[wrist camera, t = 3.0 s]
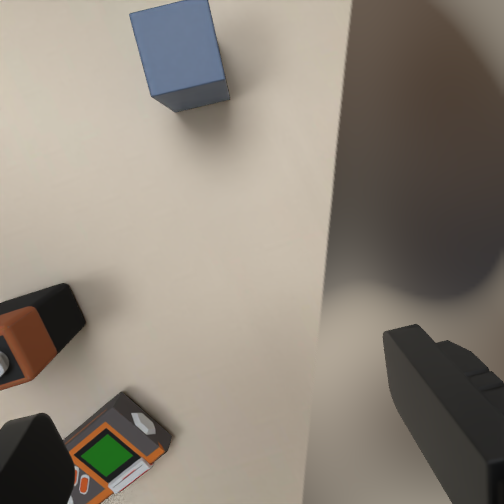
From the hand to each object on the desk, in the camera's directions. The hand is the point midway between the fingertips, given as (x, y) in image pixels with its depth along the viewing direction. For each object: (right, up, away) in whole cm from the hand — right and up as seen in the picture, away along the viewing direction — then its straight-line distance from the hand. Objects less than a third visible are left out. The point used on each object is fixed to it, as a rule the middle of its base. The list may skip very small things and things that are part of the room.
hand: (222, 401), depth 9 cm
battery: (-18, -2, +25) cm, 31 cm away
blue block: (-4, +17, +21) cm, 27 cm away
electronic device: (-14, -16, +29) cm, 36 cm away
